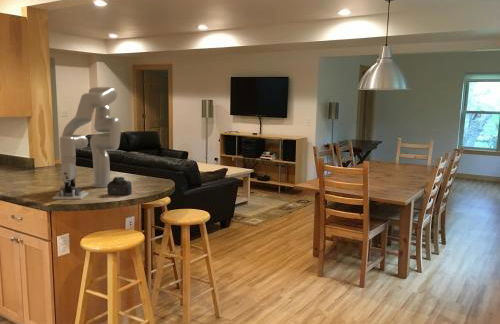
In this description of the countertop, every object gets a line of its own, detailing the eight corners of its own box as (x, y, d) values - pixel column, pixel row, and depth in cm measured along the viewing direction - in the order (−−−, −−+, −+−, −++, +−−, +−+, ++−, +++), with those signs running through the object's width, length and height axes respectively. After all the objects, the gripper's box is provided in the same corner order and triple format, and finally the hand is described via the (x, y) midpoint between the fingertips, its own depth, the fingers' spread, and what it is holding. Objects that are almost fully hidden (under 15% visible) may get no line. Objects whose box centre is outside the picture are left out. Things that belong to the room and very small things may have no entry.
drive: (63, 192, 230) (63, 185, 229) (80, 193, 231) (80, 186, 230) (60, 194, 225) (60, 187, 224) (77, 195, 226) (77, 188, 225)
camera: (133, 191, 241) (132, 174, 239) (130, 195, 231) (129, 178, 230) (109, 192, 239) (108, 175, 238) (106, 196, 229) (105, 178, 228)
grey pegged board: (61, 194, 234) (61, 186, 233) (88, 193, 235) (88, 186, 234) (52, 199, 222) (51, 191, 222) (80, 199, 223) (80, 190, 222)
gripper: (67, 157, 233) (69, 188, 236) (54, 161, 217) (56, 195, 219) (81, 157, 234) (82, 188, 236) (69, 161, 217) (71, 195, 219)
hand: (70, 191), depth 228 cm, fingers open, 5 cm apart
